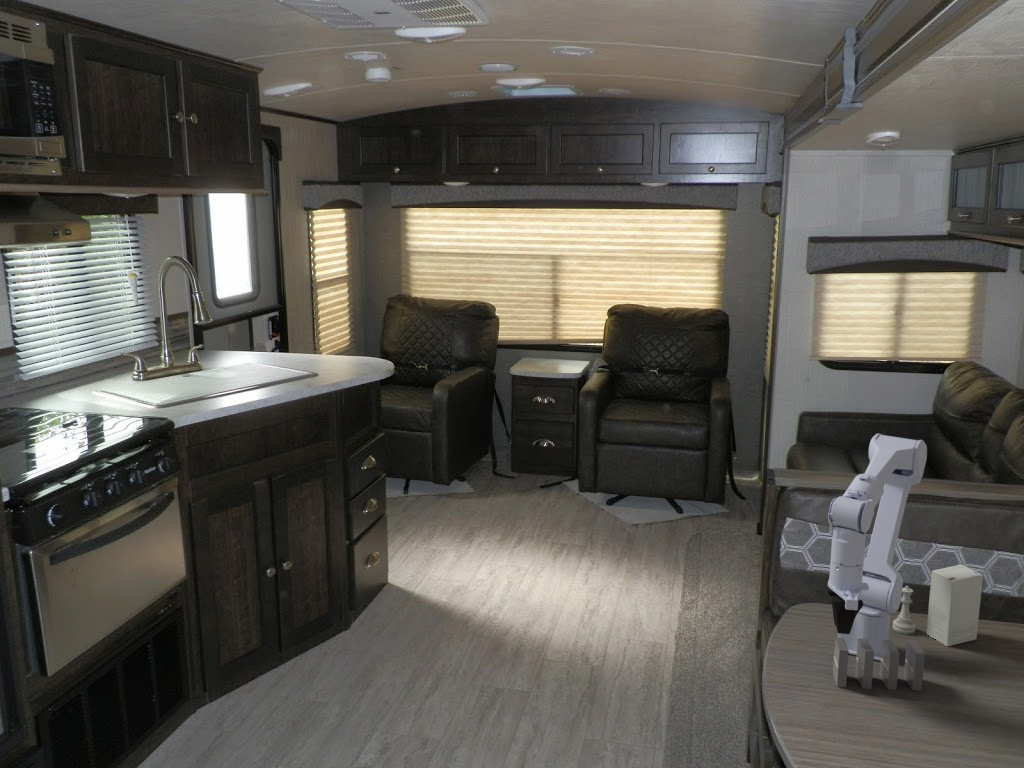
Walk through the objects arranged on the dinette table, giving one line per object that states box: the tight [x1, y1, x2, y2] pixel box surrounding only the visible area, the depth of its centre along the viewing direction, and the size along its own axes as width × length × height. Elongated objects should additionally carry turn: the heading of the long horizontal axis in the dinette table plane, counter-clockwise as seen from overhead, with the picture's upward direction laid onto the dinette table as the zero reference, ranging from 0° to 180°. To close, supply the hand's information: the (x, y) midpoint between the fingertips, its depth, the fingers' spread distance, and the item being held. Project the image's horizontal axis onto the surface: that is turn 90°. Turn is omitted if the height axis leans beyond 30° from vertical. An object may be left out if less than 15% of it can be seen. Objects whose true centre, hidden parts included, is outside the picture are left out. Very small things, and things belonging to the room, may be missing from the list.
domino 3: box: [878, 639, 900, 691], centre depth 166 cm, size 2×5×8 cm, turn 174°
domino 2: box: [854, 639, 875, 690], centre depth 166 cm, size 2×5×8 cm, turn 174°
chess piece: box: [892, 585, 916, 635], centre depth 186 cm, size 4×4×10 cm
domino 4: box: [903, 640, 926, 692], centre depth 165 cm, size 2×5×8 cm, turn 174°
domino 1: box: [832, 637, 849, 689], centre depth 167 cm, size 2×5×8 cm, turn 169°
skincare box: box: [925, 564, 984, 647], centre depth 182 cm, size 8×6×15 cm
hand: (842, 629), depth 165 cm, fingers open, 2 cm apart
